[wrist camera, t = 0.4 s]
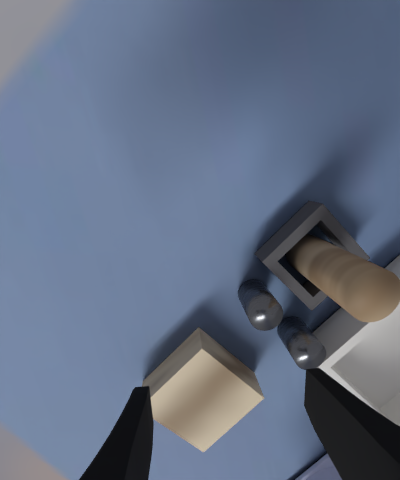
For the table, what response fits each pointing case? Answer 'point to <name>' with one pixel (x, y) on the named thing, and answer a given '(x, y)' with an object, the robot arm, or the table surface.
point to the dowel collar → (297, 230)
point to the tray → (365, 356)
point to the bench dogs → (281, 324)
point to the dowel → (347, 278)
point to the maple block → (202, 390)
